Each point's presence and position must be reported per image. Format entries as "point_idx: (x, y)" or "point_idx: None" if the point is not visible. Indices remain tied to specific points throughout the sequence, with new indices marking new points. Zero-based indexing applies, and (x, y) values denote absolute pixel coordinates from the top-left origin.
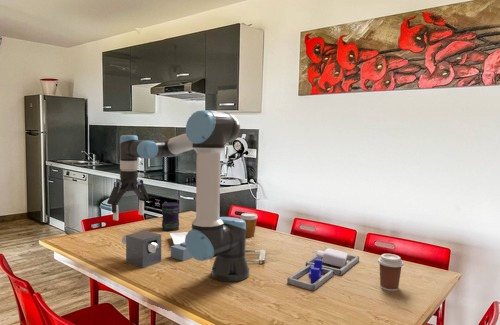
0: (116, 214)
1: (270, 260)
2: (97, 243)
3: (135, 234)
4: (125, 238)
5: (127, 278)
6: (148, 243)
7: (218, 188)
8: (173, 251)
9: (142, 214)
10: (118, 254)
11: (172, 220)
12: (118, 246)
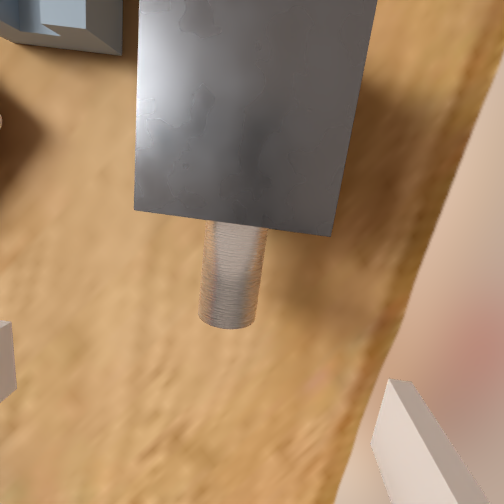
0: (454, 460)
1: None
2: (187, 487)
3: (272, 183)
4: (250, 297)
5: (486, 21)
6: None
7: None
8: (102, 11)
9: (4, 328)
10: None
11: None
12: (163, 394)
